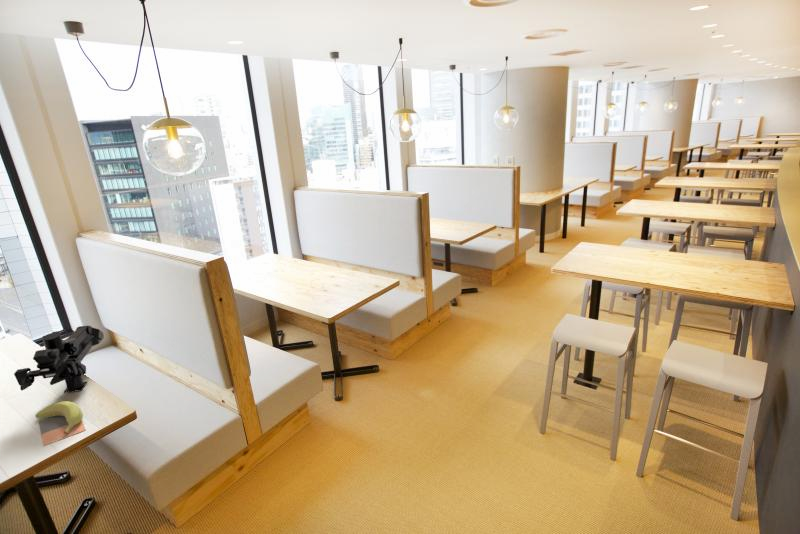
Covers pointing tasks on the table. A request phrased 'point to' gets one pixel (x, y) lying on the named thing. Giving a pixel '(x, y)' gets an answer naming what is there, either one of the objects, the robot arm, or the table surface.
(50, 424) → the mat
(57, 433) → the pad
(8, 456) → the table surface
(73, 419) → the banana
